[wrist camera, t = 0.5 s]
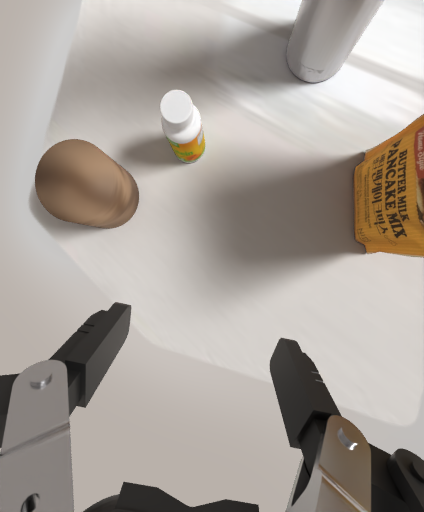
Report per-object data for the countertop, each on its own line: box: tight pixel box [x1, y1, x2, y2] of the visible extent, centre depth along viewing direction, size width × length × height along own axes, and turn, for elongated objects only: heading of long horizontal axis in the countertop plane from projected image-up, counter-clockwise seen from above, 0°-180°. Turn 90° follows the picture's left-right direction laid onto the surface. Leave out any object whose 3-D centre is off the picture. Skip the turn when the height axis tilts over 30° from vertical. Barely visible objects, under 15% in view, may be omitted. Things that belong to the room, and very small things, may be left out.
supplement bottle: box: [160, 90, 205, 163], centre depth 29 cm, size 5×5×10 cm
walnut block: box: [35, 139, 139, 228], centre depth 31 cm, size 11×11×8 cm
